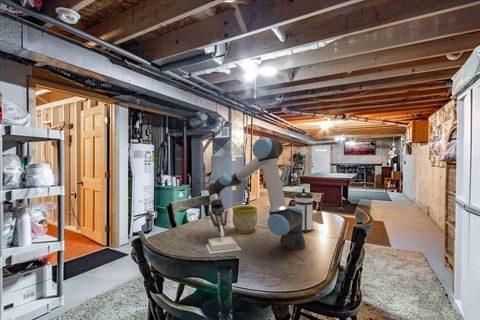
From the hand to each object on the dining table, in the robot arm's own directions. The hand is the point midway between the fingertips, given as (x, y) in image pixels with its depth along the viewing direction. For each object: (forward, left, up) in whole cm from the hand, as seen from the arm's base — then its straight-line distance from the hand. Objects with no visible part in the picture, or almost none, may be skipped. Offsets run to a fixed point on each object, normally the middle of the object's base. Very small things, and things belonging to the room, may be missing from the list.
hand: (222, 236), depth 144 cm
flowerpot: (+5, -34, -7) cm, 36 cm away
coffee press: (-29, -57, -7) cm, 65 cm away
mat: (-1, 0, -7) cm, 7 cm away
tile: (+5, -5, -4) cm, 8 cm away
